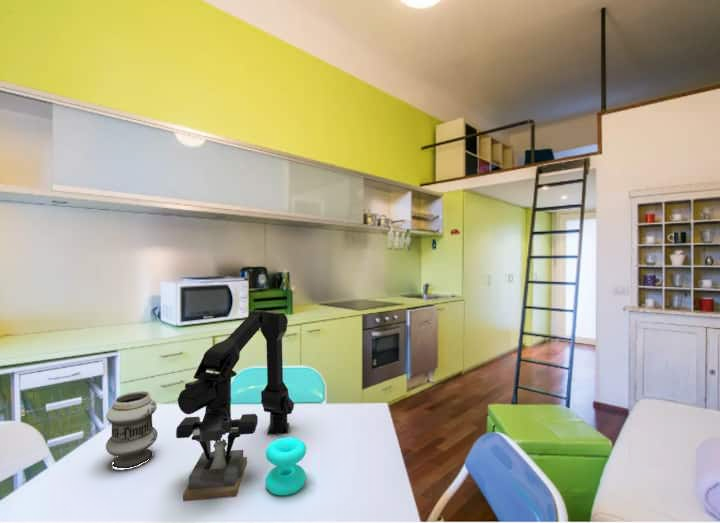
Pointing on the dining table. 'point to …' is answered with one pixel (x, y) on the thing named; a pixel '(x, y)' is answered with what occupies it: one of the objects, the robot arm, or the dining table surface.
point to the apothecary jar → (131, 429)
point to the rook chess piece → (219, 455)
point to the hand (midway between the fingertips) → (218, 458)
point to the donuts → (285, 466)
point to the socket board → (215, 490)
